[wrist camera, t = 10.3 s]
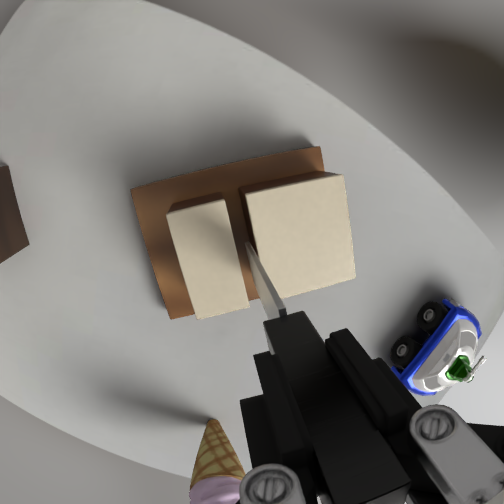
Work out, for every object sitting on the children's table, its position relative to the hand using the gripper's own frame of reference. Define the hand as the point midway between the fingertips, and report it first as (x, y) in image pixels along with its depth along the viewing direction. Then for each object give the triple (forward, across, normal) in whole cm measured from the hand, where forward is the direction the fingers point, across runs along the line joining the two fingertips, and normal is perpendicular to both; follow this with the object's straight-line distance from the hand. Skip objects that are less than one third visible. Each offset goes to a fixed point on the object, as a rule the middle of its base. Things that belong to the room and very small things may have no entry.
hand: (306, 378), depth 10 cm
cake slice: (+18, +3, 0) cm, 19 cm away
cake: (+18, -4, 0) cm, 19 cm away
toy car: (+20, -20, +19) cm, 34 cm away
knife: (+13, 0, 0) cm, 13 cm away
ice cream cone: (+20, +8, +22) cm, 31 cm away
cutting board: (+20, 0, 0) cm, 20 cm away
